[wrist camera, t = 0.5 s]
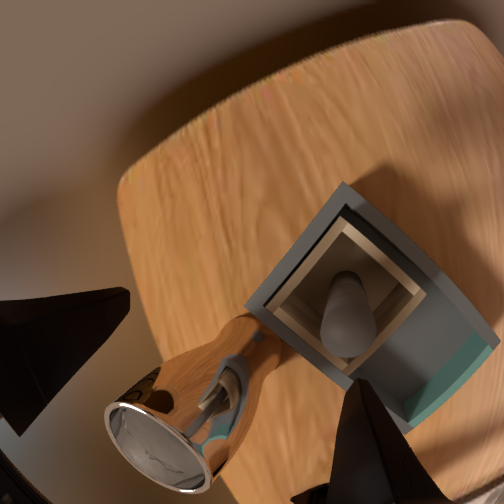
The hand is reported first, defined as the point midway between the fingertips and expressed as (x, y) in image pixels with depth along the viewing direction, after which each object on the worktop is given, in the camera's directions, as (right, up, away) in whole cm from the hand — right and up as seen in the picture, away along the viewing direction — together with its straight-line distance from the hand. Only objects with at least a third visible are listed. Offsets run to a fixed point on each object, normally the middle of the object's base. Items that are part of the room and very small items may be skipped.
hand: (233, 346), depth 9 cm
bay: (+11, -2, +11) cm, 16 cm away
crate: (+8, +1, +10) cm, 13 cm away
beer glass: (+1, -5, +15) cm, 16 cm away
